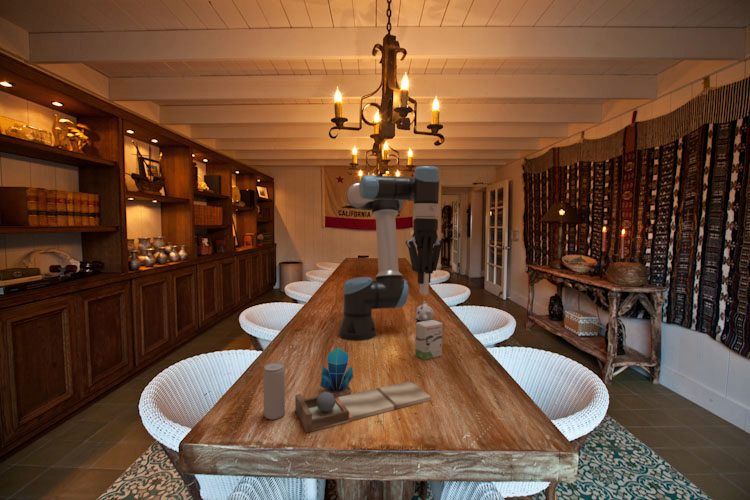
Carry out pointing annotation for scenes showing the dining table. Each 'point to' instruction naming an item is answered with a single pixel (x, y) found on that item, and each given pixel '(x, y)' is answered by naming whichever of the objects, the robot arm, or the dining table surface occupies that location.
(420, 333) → the ink box
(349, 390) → the gemstone
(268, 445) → the dining table surface
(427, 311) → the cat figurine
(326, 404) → the ball
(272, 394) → the beverage can
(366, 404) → the lane
